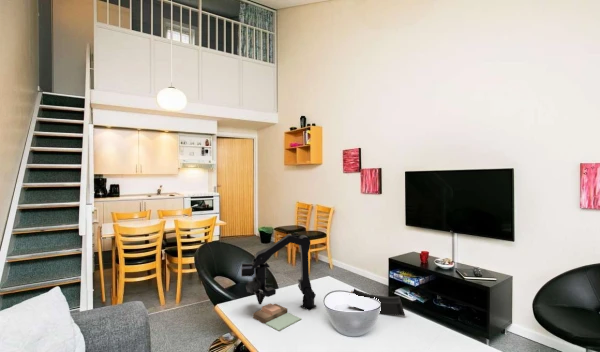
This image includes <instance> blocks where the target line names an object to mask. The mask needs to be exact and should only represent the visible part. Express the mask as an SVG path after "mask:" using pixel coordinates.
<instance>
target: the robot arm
mask: <svg viewBox="0 0 600 352" xmlns="http://www.w3.org/2000/svg"><path fill="white" fill-rule="evenodd" d="M291 243H292V244H295V245H297V246H298V248H299V251H300V273H301V274H300V275H301V277H300V279H297V282H298V284H297V287H298V288H299V290H300V292H301V294H302V295H303V296H302V304H301V305H300V307H301V308H303V309H306V310H308V311H310V310H312V309H314V308H316V307H317V305H316V304H315V298H316V293H315V291H314V290H313V289H312V288H313V287H312V283H311V280H310V276H309V274H310V271H309V269H310V268H309V251H310V249H311V239H310V238H309V237H308V236H307V235H305V234H301V235H297V234H296V235H295V234H291V233H288V234H286V235H285V236H284V237H282V238H281V239H279V240H278V241H277V242H275V243H274V244H272V245H270V246H269V247H267V248H266V247H265V248H263V249H261V250H258V251H257V252H256V253H255V254H254V255H255V256H254V258H253V259H252V260H251V262H249V263H248V262H247V263H245V262H243V263H241V268H240V269H241V272H240V275H241V277H243V278H244V277H252V280H250V281H247V282H246V284H245V289H246V293H250V294H251V295H253V294H255V296H256V300H257V303H258V305H262V303H263V301H264V299H265V297H267V298H269V297H271V296H275V295H276V294H277V292H276V291H277V290H276V289H275V288H273V287H268V284H267V283H266V282H267V281H266V280H267V279H268V276H267V268H270V264H269V263H268V262H267V261H269V259H271V257H272V256H273V255H274V254H276V253H277V252H279V251H280V250H282V249H283V248H284V247H286V246H287V245H289V244H291ZM253 276H254V277H253Z"/></svg>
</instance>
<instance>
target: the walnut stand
mask: <svg viewBox="0 0 600 352" xmlns="http://www.w3.org/2000/svg"><path fill="white" fill-rule="evenodd" d="M273 305H275V306H278V307H280V308H281V312H279V313H277V314H275V315H270V314H268V313H266V312H264V311H262V309H259V310H257V311H255V312H253V313H252V319H254V320H256V321H258V322H260V323H262V324H263V325H266V324H265V323H267V322H269V321H271V320H273V319H275V318H277V317H279V316H281V315H284V314H286V313H288V308H287V307H284V306H282V305H280V304H277V303H274V304H273Z"/></svg>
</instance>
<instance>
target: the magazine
mask: <svg viewBox="0 0 600 352" xmlns="http://www.w3.org/2000/svg"><path fill="white" fill-rule="evenodd" d="M350 293H355V294H356V295H358V296H364V297H370V298H374V297H375V299H376V298H377V300H378V299H379V301H380V302H381V311H380V314H379V315H384V316H385V315H386V316H405V315H406V314H405V310H404V307H403V303H402V300H401V296H400V295H399V296H385V295H376V294H372V293H371V294H370V293H366V292H363V291H362V290H361V291H360V290H357V289H356V288H354V289H353V290H350Z"/></svg>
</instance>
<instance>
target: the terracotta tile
mask: <svg viewBox="0 0 600 352" xmlns="http://www.w3.org/2000/svg"><path fill="white" fill-rule="evenodd" d="M261 310H262V311H264V312H266V313H268V314H270V315H275V314H277V313H279V312H281V308H280V307H278V306H275V305H274V304H273V303H268V304H265V305H263V306H261Z"/></svg>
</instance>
